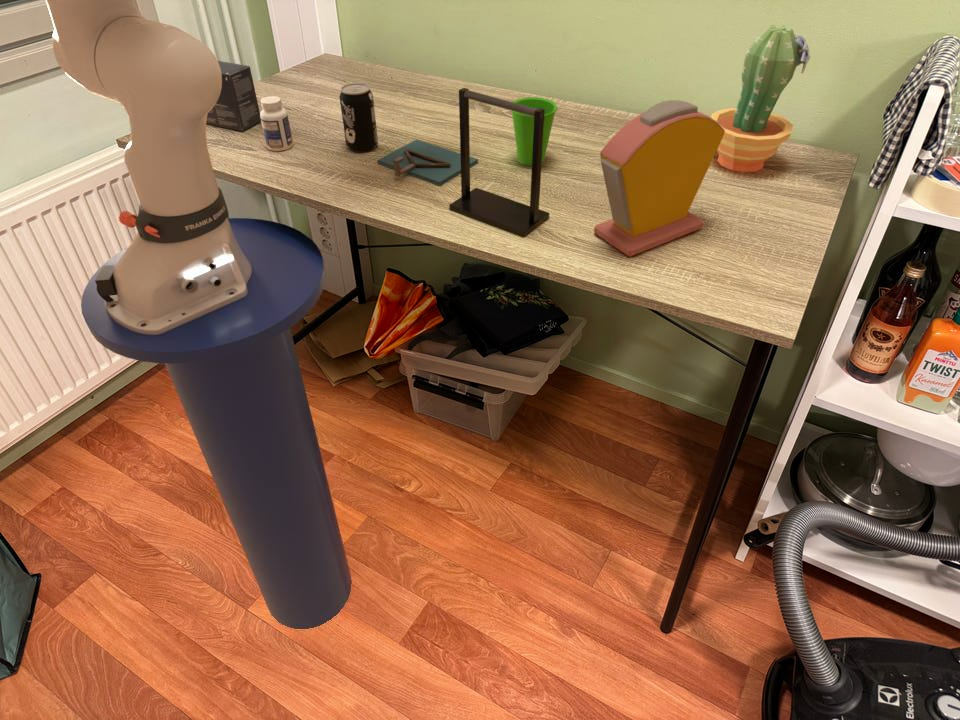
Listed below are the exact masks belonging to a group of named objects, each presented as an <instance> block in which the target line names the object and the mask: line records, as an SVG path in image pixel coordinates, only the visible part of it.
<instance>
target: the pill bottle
mask: <svg viewBox="0 0 960 720" xmlns="http://www.w3.org/2000/svg"><path fill="white" fill-rule="evenodd" d="M260 106H261V108H262V109H261V111H260V118H261V121H260V122H261V126H262V130H263V134H264V139H265V144H266V147H267V149H269V150H270V151H273V152H283V151H287V150H289V149H291V148H292V147H293V146H294V141H293V136H292V130H291V125H290V120H289V116H288V111H287V109H286V108H284V107H283V102H282V99H281V97H280V96H276V95H269V96H268V95H267V96H264V97H263V98H261V99H260Z"/></svg>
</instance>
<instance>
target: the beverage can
mask: <svg viewBox="0 0 960 720" xmlns="http://www.w3.org/2000/svg"><path fill="white" fill-rule="evenodd" d="M339 104H340V111H341V118H342V126H343V132H344V137H345V138H344V139H345V145H346V147H347V148H349V149H350V151H353V152H355V153H356V152H357V153H366V152H370V151H372V150H374V149H375V148H376V147H377V145H378V144H379V137H378V129H377V120H376V110H375V101H374V94H373V92H372V91H371V86H370V85H369V84H367V83H363V82H352V83H351V82H350V83H347V84H344V85H342V86H341V87H340V94H339Z"/></svg>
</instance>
